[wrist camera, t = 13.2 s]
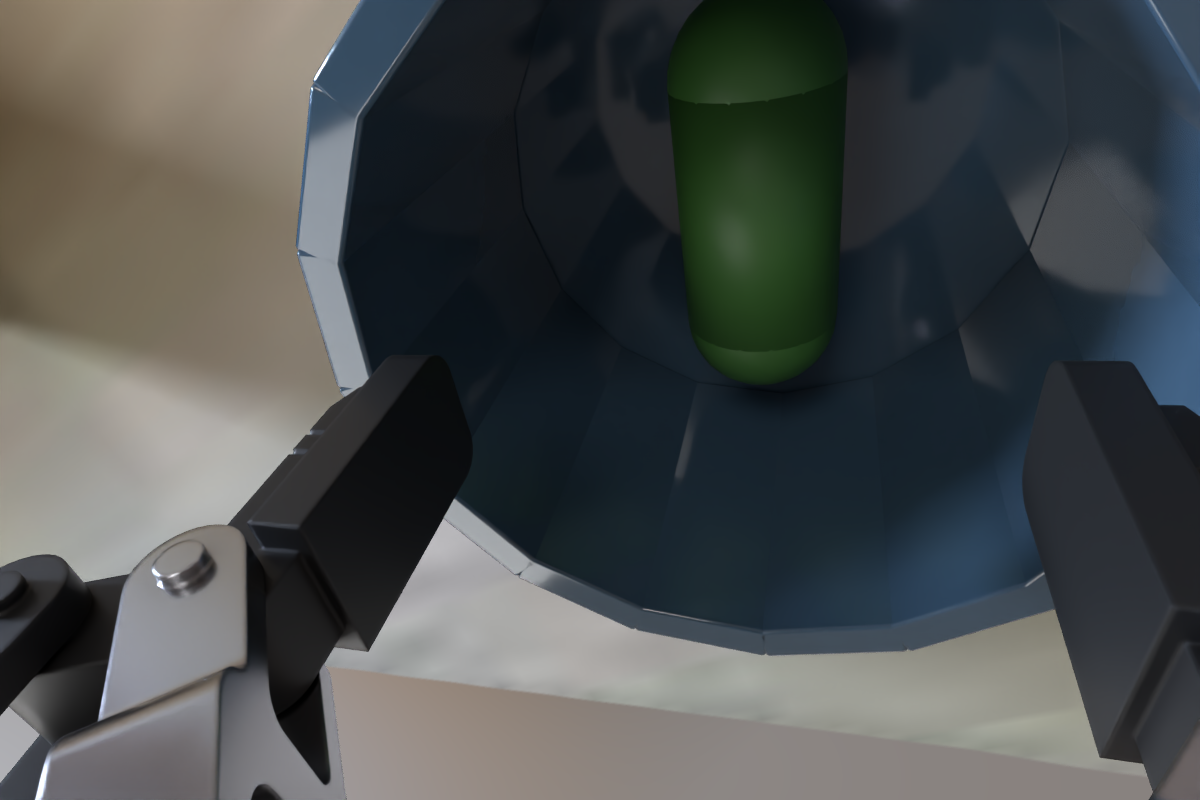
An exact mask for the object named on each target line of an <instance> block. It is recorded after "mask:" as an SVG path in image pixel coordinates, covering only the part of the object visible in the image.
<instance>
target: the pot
mask: <svg viewBox="0 0 1200 800" xmlns="http://www.w3.org/2000/svg"><path fill="white" fill-rule="evenodd" d="M702 1H703V0H360V1H359V3H358V4H357V6H356V8H355V9H354V11H353V13H352V14H351V16H350V18H349V19H348V21H347V23H346V24H345V26H344V28H343V29H342V31H341V33H340V34H339V36H338V38H337V39H336V41H335V43H334V44H333V46H332V48H331V49H330V51H329V53H328V54H327V56H326V58H325V59H324V61H323V63H322V64H321V66H320V68H319V69H318V71H317V73H316V74H315V76H314V80H313V82H314V83H313V85H312V87H311V89H310V100H309V111H308V122H307V132H306V143H305V154H304V165H303V175H302V186H301V197H300V207H299V218H298V229H297V240H296V247H297V249H298V252H297V256H298V259H299V262H300V266H301V269H302V272H303V275H304V279H305V282H306V285H307V288H308V292H309V295H310V298H311V301H312V305H313V308H314V311H315V314H316V318H317V321H318V324H319V327H320V331H321V334H322V337H323V340H324V344H325V347H326V350H327V353H328V357H329V360H330V363H331V366H332V370H333V373H334V376H335V379H336V383H337V385H338V386H339V387H340V392H341V394H342V395H343V397H346V396H347V395H348V394H350V393H351V392H353V391H354V390H356V389H357V388H359V387H362V386H363V385H364V384H365V382H366V381H367V380H368V379H369V378H370V376H371V375H372V374H373V373H374V372H375V371H376V369H377V368H378V367H379V366H380V365H381V363H382V362H383V361H384V360H385V359H386V358H387V357H389V356H391V355H439V356H441V357H442V358H444V360H445V361H446V362H447V364H448V366H449V368H450V371H451V374H452V377H453V380H454V383H455V386H456V389H457V393H458V396H459V399H460V402H461V405H462V408H463V411H464V414H465V417H466V420H467V423H468V426H469V429H470V432H471V436H472V442H473V457H472V463H471V467H470V470H469V473H468V475H467V477H466V479H465V481H464V483H463V484H462V486H461V488H460V490H459V491H458V493H457V495H456V497H455V499H454V500H453V502H452V504H451V506H450V507H449V509H448V511H447V513H446V515H445V516H444V518H443V519H445V520H446V521H447V522H448V523H450V524H451V525H452V526H453V527H455V528H456V529H457V530H459V531H460V532H461V533H462V534H464V535H465V536H466V537H467V538H469V539H470V540H471V541H472V542H474V543H475V544H476V545H477V546H479V547H480V548H481V549H483V550H484V551H485V552H486V553H488V554H489V555H490V556H491V557H493V558H494V559H495V560H496V561H498V562H499V563H500V564H502V565H503V566H504V567H505V568H507V569H508V570H509V571H510V572H512V573H513V574H514V575H519V578H520V579H523V580H525V581H527V582H529V583H532V584H534V585H536V586H538V587H540V588H543V589H545V590H547V591H549V592H551V593H554V594H556V595H558V596H560V597H562V598H565V599H567V600H569V601H571V602H573V603H576V604H578V605H580V606H582V607H584V608H587V609H589V610H591V611H593V612H595V613H598V614H600V615H602V616H604V617H607V618H609V619H611V620H613V621H615V622H618V623H620V624H622V625H624V626H626V627H629V628H631V629H635V628H636V629H637V630H638V631H642V632H647V633H652V634H657V635H662V636H667V637H672V638H677V639H682V640H687V641H693V642H698V643H703V644H708V645H713V646H718V647H723V648H728V649H733V650H738V651H743V652H748V653H753V654H758V655H765V654H767V655H769V656H784V655H814V654H844V653H875V652H904V651H907V649H908V650H910V651H914V650H917V649H921V648H924V647H928V646H931V645H934V644H938V643H941V642H945V641H948V640H952V639H955V638H958V637H962V636H965V635H969V634H972V633H976V632H979V631H982V630H986V629H989V628H993V627H996V626H1000V625H1003V624H1007V623H1010V622H1013V621H1017V620H1020V619H1024V618H1027V617H1031V616H1034V615H1037V614H1041V613H1044V612H1048V611H1051V610H1055V606H1054V603H1053V600H1052V596H1051V593H1050V590H1049V586H1048V583H1047V580H1046V576H1045V573H1044V570H1043V566H1042V563H1041V560H1040V556H1039V553H1038V550H1037V546H1036V543H1035V540H1034V536H1033V533H1032V530H1031V526H1030V523H1029V520H1028V516H1027V513H1026V509H1025V505H1024V499H1023V489H1022V475H1023V464H1024V459H1025V454H1026V450H1027V446H1028V442H1029V438H1030V434H1031V430H1032V426H1033V422H1034V418H1035V414H1036V410H1037V406H1038V403H1039V399H1040V395H1041V391H1042V387H1043V383H1044V379H1045V375H1046V372H1047V370H1048V368H1049V366H1050V364H1051V363H1052V362H1054V361H1057V360H1061V361H1129V362H1132V363H1133V364H1134V365H1135V366H1136V368H1137V369H1138V371H1139V373H1140V374H1141V376H1142V378H1143V379H1144V381H1145V383H1146V385H1147V386H1148V388H1149V390H1150V391H1151V393H1152V395H1153V396H1154V398H1155V400H1156V401H1157V403H1158V405H1185V406H1186V407H1187V408H1189V409H1190V410H1192V411H1193V412H1194V413H1196V414H1197V415H1199V416H1200V0H823V1H824V2H825V3H826V5H827V6H828V7H829V8H830V9H831V11H832V12H833V14H834V16H835V18H836V20H837V22H838V24H839V25H840V27H841V29H842V32H843V36H844V40H845V43H846V47H847V58H848V81H847V103H846V126H845V148H844V171H843V193H842V216H841V238H840V261H839V284H838V306H837V317H836V323H835V328H834V333H833V335H832V337H831V340H830V342H829V344H828V346H827V347H826V349H825V351H824V352H823V353H822V355H821V356H820V357H819V359H818V360H817V361H816V362H815V363H814V364H813V365H812V366H810V367H809V368H808V369H806V370H805V371H804V372H802V373H801V374H799V375H798V376H796V377H793V378H791V379H788V380H786V381H783V382H779V383H775V384H769V385H753V384H747V383H743V382H739V381H736V380H733V379H730V378H728V377H726V376H725V375H723V374H721V373H720V372H719V371H717V370H716V369H715V368H713V367H712V366H711V365H710V364H709V363H708V362H707V361H706V360H705V358H704V357H703V356H702V354H701V353H700V352H699V350H698V349H697V346H696V344H695V342H694V340H693V337H692V334H691V330H690V325H689V320H688V308H687V297H686V287H685V276H684V265H683V254H682V243H681V233H680V222H679V211H678V200H677V189H676V179H675V168H674V157H673V146H672V135H671V125H670V114H669V103H668V93H667V71H668V65H669V60H670V55H671V51H672V49H673V46H674V43H675V41H676V38H677V35H678V33H679V31H680V30H681V28H682V26H683V25H684V23H685V21H686V20H687V18H688V16H689V15H690V14H691V13H692V12H693V11H694V10H695V9H696V7H697V6H698V5H699V4H700V3H701V2H702Z"/></svg>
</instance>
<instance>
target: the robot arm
mask: <svg viewBox="0 0 1200 800" xmlns="http://www.w3.org/2000/svg"><path fill="white" fill-rule="evenodd" d="M293 450H294V453H293V455H290V454H289V455H288V456H287V457H286V458H285V459H284V461H283V462H282V463H281V464H280V465H279V466H278V467H277V469H276V470H275V471H274V472H273V473H272V474H271V476H270V477H269V478H268V479H267V480H266V481H265V482H264V484H263V485H262V486H261V487H260V488H259V489H258V490H257V492H256V493H255V494H254V495H253V496H252V497H251V498H250V500H249V501H248V502H247V503H246V504H245V505H244V506H243V508H242V509H241V510H240V511H239V512H238V513H237V515H236V516H235V517H234V518H233V519H232V520H231V521H230V523H229V524H228V525H208V526H203V527H198V528H195V529H192V530H189V531H186V532H184V533H182V534H179V535H177V536H175V537H173V538H171V539H169V540H168V541H166V542H164V543H163V544H161V545H160V546H158V547H157V548H156V549H154V550H153V551H152V552H150V553H149V554H148V555H147V556H146V557H145V558H143V559H142V560H141V561H140V562H139V563H138V565H137V566H136V567H135V568H134V569H133V571H132V572H131V573H130V574H127V575H122V576H116V577H111V578H106V579H100V580H95V581H89V582H83V581H82V580H81V579H80V578H79V576H78V575H77V574H76V573H75V572H74V571H73V570H72V568H71V567H70V566H69V565H68V564H67V563H66V561H65V560H63V559H62V558H61V557H59V556H56V555H49V554H47V555H36V556H30V557H27V558H23V559H20V560H17V561H15V562H12V563H9V564H7V565H5V566H3V567H1V568H0V715H1V714H2V713H3V712H4V711H5V710H6V709H7V708H8V706H9V707H10V708H11V709H12V710H13V711H14V712H15V713H17V714H18V715H19V716H20V717H21V718H22V719H23V720H24V721H26V722H27V723H28V724H29V725H30V726H31V727H32V728H33V729H34V730H36V731H37V732H38V733H39V734H40V735H39V737H38V738H37V739H36V740H35V742H34V743H33V744H32V746H30V748H29V749H28V750H27V751H26V752H25V754H24V755H23V756H22V757H21V759H20V760H19V761H18V762H17V764H16V765H15V766H14V767H13V768H12V770H11V771H10V772H9V773H8V774H7V776H6V777H5V778H4V779H3V780H2V782H1V783H0V800H347V798H346V793H345V785H344V777H343V769H342V763H341V762H342V761H341V753H340V745H339V737H338V729H337V721H336V714H335V706H334V697H333V689H332V682H331V677H330V673H329V671H328V669H327V667H326V666H325V664H324V663H325V661H326V660H327V658H328V656H329V655H330V653H331V651H332V650H333V648H334V647H337V648H345V649H352V650H359V651H366V652H368V651H369V650H370V648H371V646H372V644H373V643H374V641H375V639H376V637H377V635H378V634H379V632H380V630H381V628H382V627H383V625H384V623H385V621H386V619H387V618H388V616H389V614H390V612H391V611H392V609H393V607H394V605H395V603H396V602H397V600H398V598H399V596H400V595H401V593H402V591H403V589H404V587H405V586H406V584H407V582H408V580H409V579H410V577H411V575H412V573H413V571H414V570H415V568H416V566H417V564H418V563H419V561H420V559H421V557H422V555H423V554H424V552H425V550H426V548H427V547H428V545H429V543H430V541H431V539H432V538H433V536H434V534H435V532H436V531H437V529H438V527H439V525H440V523H441V522H442V520H443V518H444V516H445V515H446V513H447V511H448V509H449V507H450V506H451V504H452V502H453V500H454V499H455V497H456V495H457V493H458V491H459V490H460V488H461V486H462V484H463V483H464V481H465V479H466V477H467V475H468V473H469V470H470V467H471V463H472V457H473V442H472V436H471V432H470V429H469V426H468V423H467V420H466V417H465V414H464V411H463V408H462V405H461V402H460V399H459V396H458V393H457V389H456V386H455V383H454V380H453V377H452V374H451V371H450V368H449V366H448V364H447V362H446V361H445V360H444V358H442V357H441V356H439V355H391V356H389V357H387V358H386V359H385V360H384V361H383V362H382V363H381V365H380V366H379V367H378V368H377V369H376V371H375V372H374V373H373V374H372V375H371V376H370V378H369V379H368V380H367V381H366V382H365V384H364V385H363V386H362V387H359V388H357V389H356V390H354V391H353V392H351V393H350V394H348V395H347V396H346V397H344V398H343V399H341V400H340V401H338V402H337V403H335V404H334V405H332V406H331V407H330V408H329V409H328V410H327V411H326V412H325V414H324V415H323V416H322V417H321V418H320V419H319V420H318V422H317V423H316V424H315V425H314V426H313V427H312V429H311V430H310V435H305V437H304V438H303V439H302V440H301V441H300V442H299V443H298V445H297V446H296V447H295V448H294V449H293ZM1022 489H1023V499H1024V505H1025V509H1026V513H1027V516H1028V520H1029V523H1030V526H1031V530H1032V533H1033V536H1034V540H1035V543H1036V546H1037V550H1038V553H1039V556H1040V560H1041V563H1042V566H1043V570H1044V573H1045V576H1046V580H1047V583H1048V586H1049V590H1050V593H1051V596H1052V600H1053V603H1054V606H1055V610H1056V613H1057V617H1058V620H1059V623H1060V627H1061V630H1062V633H1063V637H1064V640H1065V643H1066V647H1067V650H1068V653H1069V657H1070V660H1071V663H1072V667H1073V670H1074V673H1075V677H1076V680H1077V683H1078V687H1079V690H1080V693H1081V697H1082V700H1083V703H1084V707H1085V710H1086V713H1087V717H1088V720H1089V723H1090V727H1091V730H1092V733H1093V737H1094V740H1095V743H1096V747H1097V750H1098V753H1099V757H1100V758H1107V759H1114V760H1121V761H1128V762H1135V763H1142V764H1144V767H1145V770H1146V773H1147V776H1148V779H1149V781H1150V784H1151V787H1152V790H1153V794H1152V796H1151V797H1150V799H1149V800H1200V416H1199V415H1197V414H1196V413H1194V412H1193V411H1192V410H1190V409H1189V408H1187V407H1186V406H1185V405H1158V403H1157V401H1156V400H1155V398H1154V396H1153V395H1152V393H1151V391H1150V390H1149V388H1148V386H1147V385H1146V383H1145V381H1144V379H1143V378H1142V376H1141V374H1140V373H1139V371H1138V369H1137V368H1136V366H1135V365H1134V364H1133V363H1132V362H1129V361H1061V360H1057V361H1054V362H1052V363H1051V364H1050V366H1049V368H1048V370H1047V372H1046V375H1045V379H1044V383H1043V387H1042V391H1041V395H1040V399H1039V403H1038V406H1037V410H1036V414H1035V418H1034V422H1033V426H1032V430H1031V434H1030V438H1029V442H1028V446H1027V450H1026V454H1025V459H1024V464H1023V475H1022Z"/></svg>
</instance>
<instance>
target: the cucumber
mask: <svg viewBox="0 0 1200 800" xmlns="http://www.w3.org/2000/svg"><path fill="white" fill-rule="evenodd" d="M847 81H848V58H847V47H846V43H845V40H844V36H843V32H842V29H841V27H840V25H839V24H838V22H837V20H836V18H835V16H834V14H833V12H832V11H831V9H830V8H829V7H828V6H827V5H826V3H825V2H824V1H823V0H703V1H702V2H701V3H700V4H699V5H698V6H697V7H696V9H695V10H694V11H693V12H692V13H691V14H690V15H689V16H688V18H687V20H686V21H685V23H684V25H683V26H682V28H681V30H680V31H679V33H678V35H677V38H676V41H675V43H674V46H673V49H672V51H671V55H670V60H669V65H668V71H667V93H668V103H669V114H670V125H671V135H672V146H673V157H674V168H675V179H676V189H677V200H678V211H679V222H680V233H681V243H682V254H683V265H684V276H685V287H686V297H687V308H688V320H689V325H690V330H691V334H692V337H693V340H694V342H695V344H696V346H697V349H698V350H699V352H700V353H701V354H702V356H703V357H704V358H705V360H706V361H707V362H708V363H709V364H710V365H711V366H712V367H713V368H715V369H716V370H717V371H719V372H720V373H721V374H723V375H725V376H726V377H728V378H730V379H733V380H736V381H739V382H743V383H747V384H753V385H769V384H775V383H779V382H783V381H786V380H788V379H791V378H793V377H796V376H798V375H799V374H801V373H802V372H804V371H805V370H806V369H808V368H809V367H810V366H812V365H813V364H814V363H815V362H816V361H817V360H818V359H819V357H820V356H821V355H822V353H823V352H824V351H825V349H826V347H827V346H828V344H829V342H830V340H831V337H832V335H833V333H834V328H835V323H836V317H837V306H838V284H839V261H840V238H841V216H842V193H843V171H844V148H845V126H846V103H847Z"/></svg>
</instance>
